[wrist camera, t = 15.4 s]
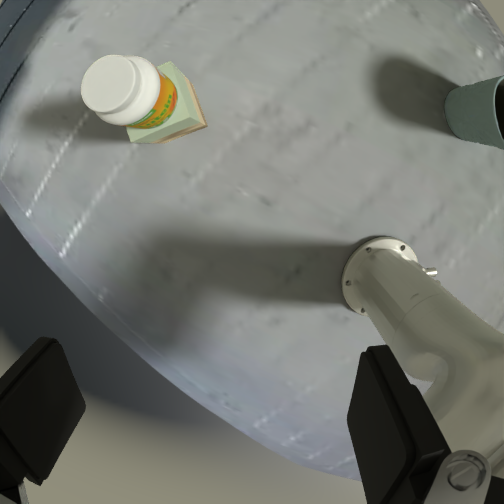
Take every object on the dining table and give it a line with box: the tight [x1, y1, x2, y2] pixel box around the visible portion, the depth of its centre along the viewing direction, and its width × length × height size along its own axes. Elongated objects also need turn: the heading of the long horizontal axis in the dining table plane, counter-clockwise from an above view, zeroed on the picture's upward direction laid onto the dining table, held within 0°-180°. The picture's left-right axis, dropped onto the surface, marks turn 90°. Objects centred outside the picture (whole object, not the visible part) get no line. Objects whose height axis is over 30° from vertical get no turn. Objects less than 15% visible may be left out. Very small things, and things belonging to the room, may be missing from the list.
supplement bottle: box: [81, 55, 178, 129], centre depth 20 cm, size 5×5×10 cm
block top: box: [126, 61, 200, 143], centre depth 28 cm, size 6×6×6 cm
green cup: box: [444, 75, 504, 149], centre depth 30 cm, size 10×10×12 cm
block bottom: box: [151, 76, 208, 143], centre depth 33 cm, size 6×6×6 cm
